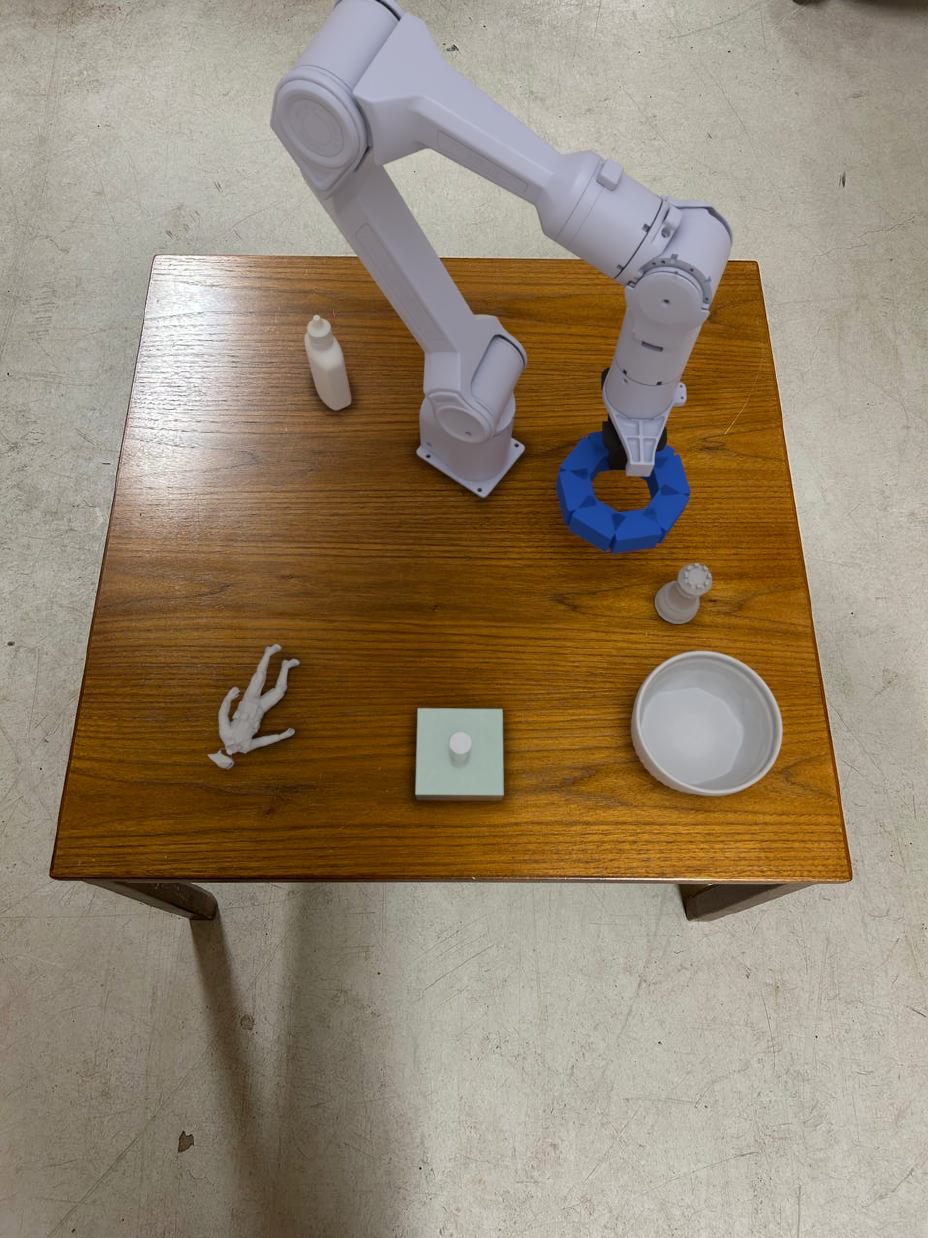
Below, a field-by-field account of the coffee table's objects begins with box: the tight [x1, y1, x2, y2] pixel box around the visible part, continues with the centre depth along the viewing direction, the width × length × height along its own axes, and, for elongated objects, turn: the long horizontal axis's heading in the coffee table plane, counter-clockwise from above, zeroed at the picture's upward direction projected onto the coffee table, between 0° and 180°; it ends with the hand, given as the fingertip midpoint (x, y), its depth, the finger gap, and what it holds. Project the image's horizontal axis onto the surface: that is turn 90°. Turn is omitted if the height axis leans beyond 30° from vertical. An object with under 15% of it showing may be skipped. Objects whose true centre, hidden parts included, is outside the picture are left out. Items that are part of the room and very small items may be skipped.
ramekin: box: [630, 650, 784, 797], centre depth 73 cm, size 13×13×7 cm
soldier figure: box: [207, 643, 301, 771], centre depth 74 cm, size 8×5×12 cm
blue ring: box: [555, 430, 692, 555], centre depth 73 cm, size 12×12×3 cm
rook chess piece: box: [654, 562, 713, 625], centre depth 77 cm, size 4×4×8 cm
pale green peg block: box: [414, 707, 505, 802], centre depth 71 cm, size 8×8×8 cm
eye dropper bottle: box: [304, 314, 352, 412], centre depth 83 cm, size 4×6×12 cm
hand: (619, 450), depth 75 cm, fingers closed on blue ring, 3 cm apart
